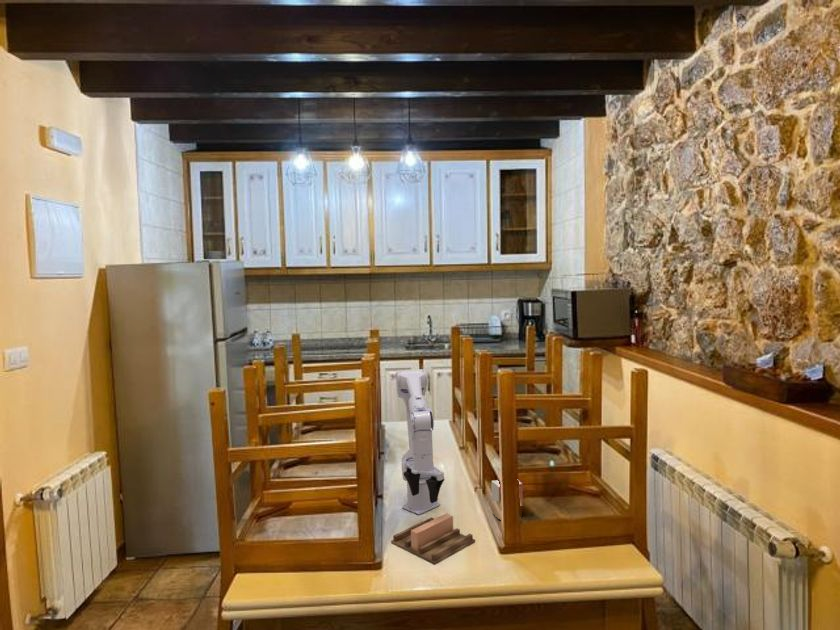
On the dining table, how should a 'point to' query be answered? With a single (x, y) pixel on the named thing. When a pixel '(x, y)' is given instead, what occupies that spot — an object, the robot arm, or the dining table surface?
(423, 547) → the rack
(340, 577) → the dining table surface
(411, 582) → the dining table surface
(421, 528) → the clay block
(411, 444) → the robot arm
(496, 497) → the small box
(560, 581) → the dining table surface
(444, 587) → the dining table surface
